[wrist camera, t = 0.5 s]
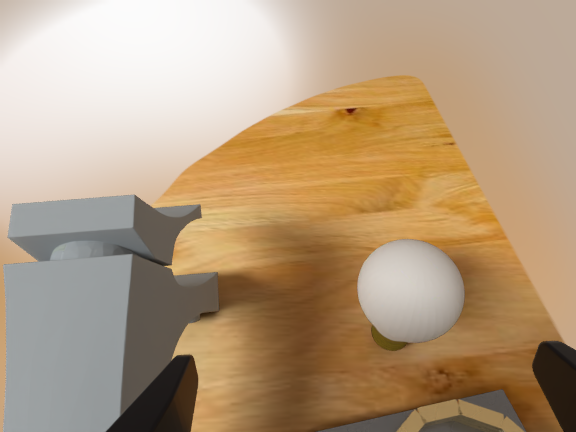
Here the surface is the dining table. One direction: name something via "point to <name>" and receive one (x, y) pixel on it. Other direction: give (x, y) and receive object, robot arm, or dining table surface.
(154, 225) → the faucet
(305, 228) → the dining table surface
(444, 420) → the plate
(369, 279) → the light bulb
